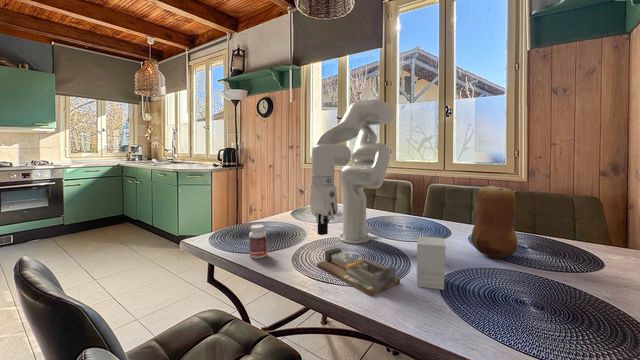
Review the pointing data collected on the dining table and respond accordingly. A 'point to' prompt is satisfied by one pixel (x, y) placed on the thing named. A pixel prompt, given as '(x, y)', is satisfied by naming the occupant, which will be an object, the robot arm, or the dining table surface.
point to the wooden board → (363, 276)
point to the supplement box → (430, 262)
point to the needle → (359, 265)
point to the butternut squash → (495, 222)
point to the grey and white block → (339, 257)
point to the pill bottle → (257, 242)
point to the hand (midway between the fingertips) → (322, 234)
